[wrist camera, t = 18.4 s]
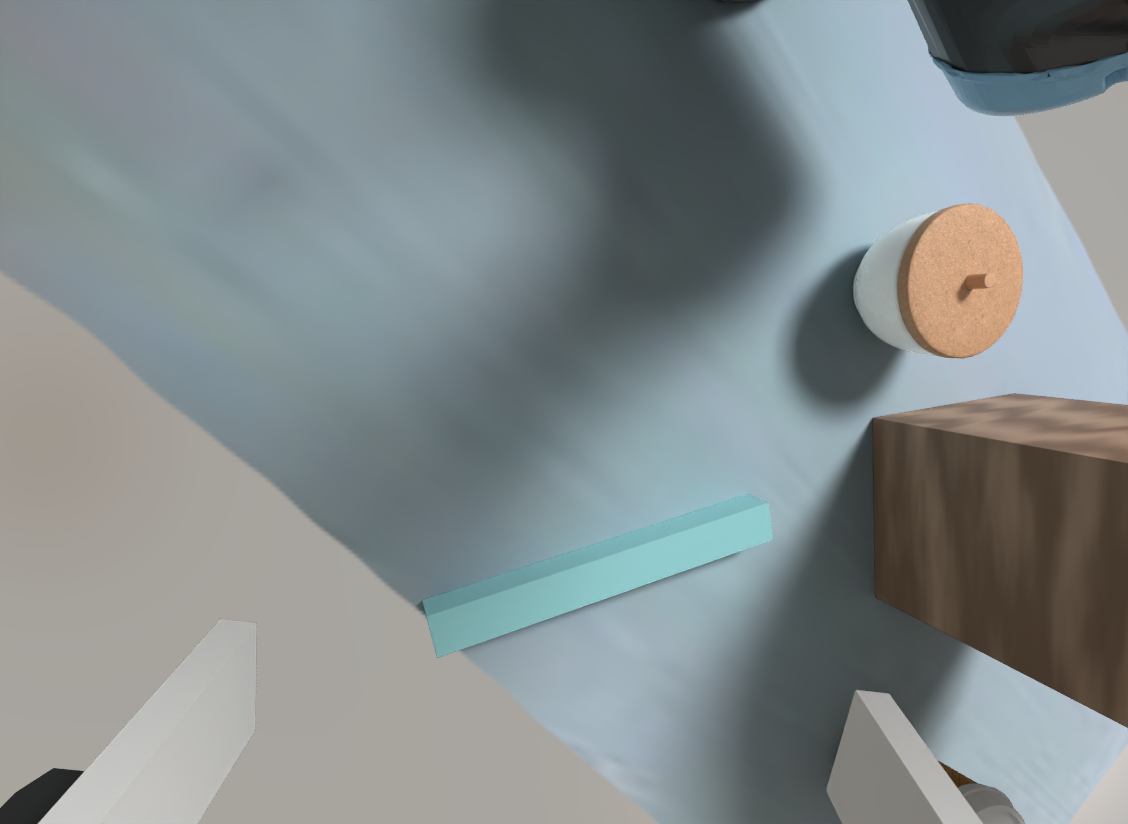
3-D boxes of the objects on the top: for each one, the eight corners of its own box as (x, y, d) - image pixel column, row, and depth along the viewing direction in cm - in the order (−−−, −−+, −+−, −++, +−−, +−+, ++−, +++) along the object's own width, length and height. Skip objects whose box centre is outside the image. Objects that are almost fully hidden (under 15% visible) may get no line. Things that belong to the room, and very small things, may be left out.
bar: (431, 636, 45) (437, 658, 42) (421, 597, 44) (426, 616, 42) (750, 527, 52) (773, 539, 49) (745, 493, 52) (768, 502, 49)
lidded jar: (847, 373, 53) (947, 383, 44) (814, 246, 50) (913, 229, 41) (945, 325, 55) (1058, 326, 47) (918, 202, 53) (1032, 177, 44)
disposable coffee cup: (883, 810, 60) (1006, 921, 49) (804, 801, 57) (916, 918, 46) (916, 714, 60) (1048, 804, 49) (839, 700, 57) (961, 793, 46)
